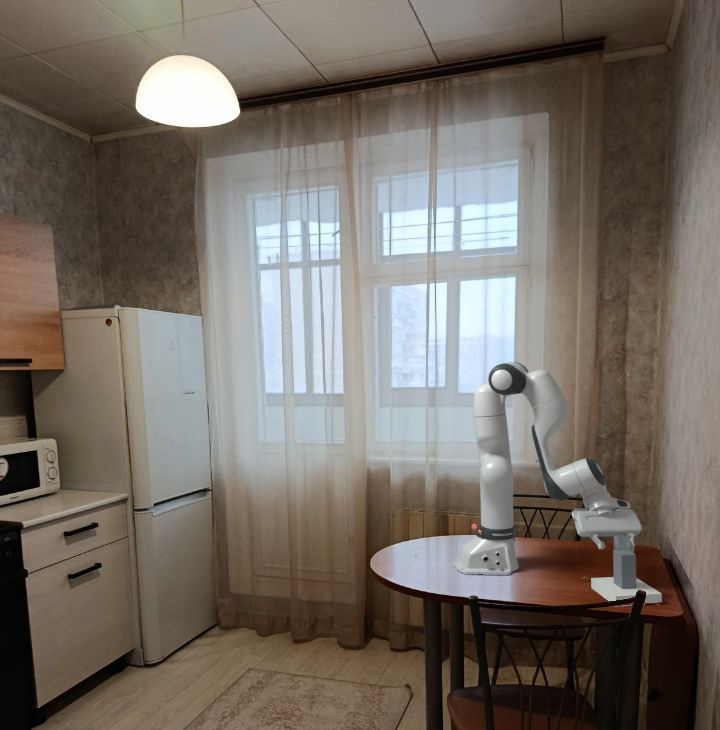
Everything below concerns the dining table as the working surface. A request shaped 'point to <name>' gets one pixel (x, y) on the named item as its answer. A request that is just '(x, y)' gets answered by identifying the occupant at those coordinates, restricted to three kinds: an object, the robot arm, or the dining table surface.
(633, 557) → the grey rectangular block
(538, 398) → the robot arm
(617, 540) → the supplement box
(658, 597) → the plinth
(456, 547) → the dining table surface
